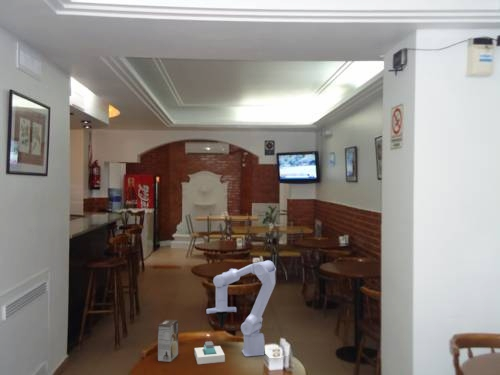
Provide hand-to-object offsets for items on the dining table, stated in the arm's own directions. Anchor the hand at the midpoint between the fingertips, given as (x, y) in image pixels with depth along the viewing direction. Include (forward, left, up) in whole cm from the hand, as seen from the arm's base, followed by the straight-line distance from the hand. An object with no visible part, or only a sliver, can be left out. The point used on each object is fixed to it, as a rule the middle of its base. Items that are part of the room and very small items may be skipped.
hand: (221, 327), depth 211 cm
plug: (+8, +13, -9) cm, 17 cm away
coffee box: (+26, +8, -10) cm, 29 cm away
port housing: (+8, +13, -9) cm, 18 cm away
